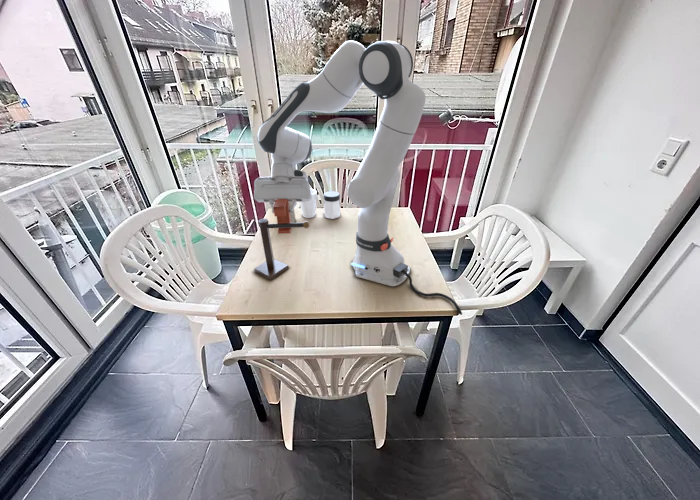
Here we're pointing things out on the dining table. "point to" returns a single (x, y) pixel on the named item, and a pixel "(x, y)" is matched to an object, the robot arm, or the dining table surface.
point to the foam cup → (309, 205)
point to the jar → (332, 204)
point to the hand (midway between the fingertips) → (282, 212)
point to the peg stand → (271, 265)
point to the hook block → (282, 214)
